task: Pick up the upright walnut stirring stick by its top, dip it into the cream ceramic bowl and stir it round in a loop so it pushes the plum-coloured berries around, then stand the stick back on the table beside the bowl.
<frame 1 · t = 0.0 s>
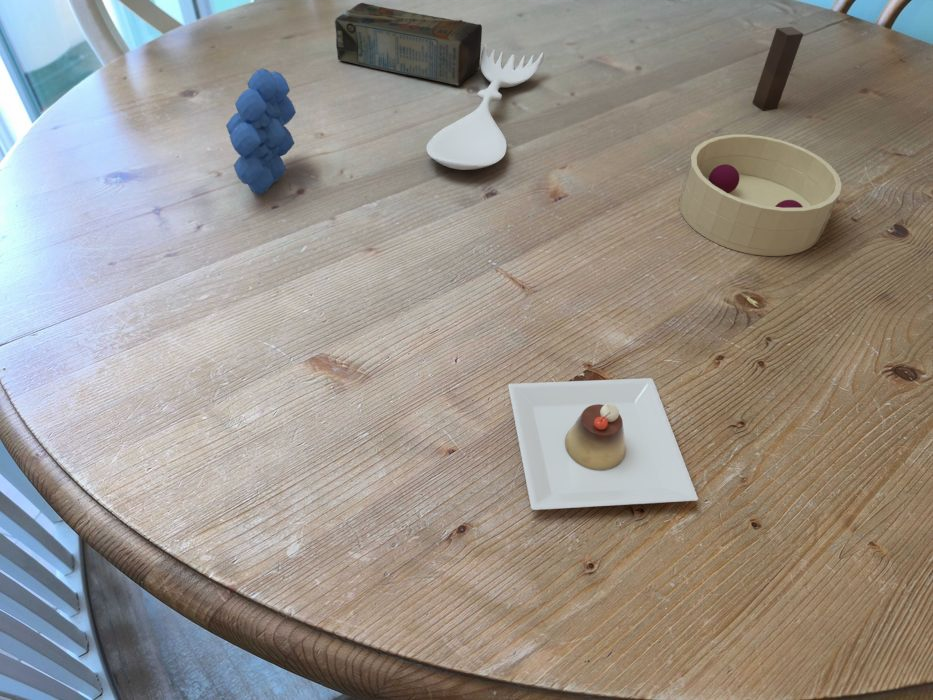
berry a: (723, 179, 82), point 2 cm above the table, touching bowl
bowl: (749, 214, 82), on the table
stick: (764, 105, 101), on the table
grapes: (264, 181, 83), on the table
dessert: (594, 449, 57), on the table
spoon: (487, 120, 95), on the table
berry b: (788, 215, 78), point 2 cm above the table, touching bowl
beverage carton: (408, 66, 106), on the table
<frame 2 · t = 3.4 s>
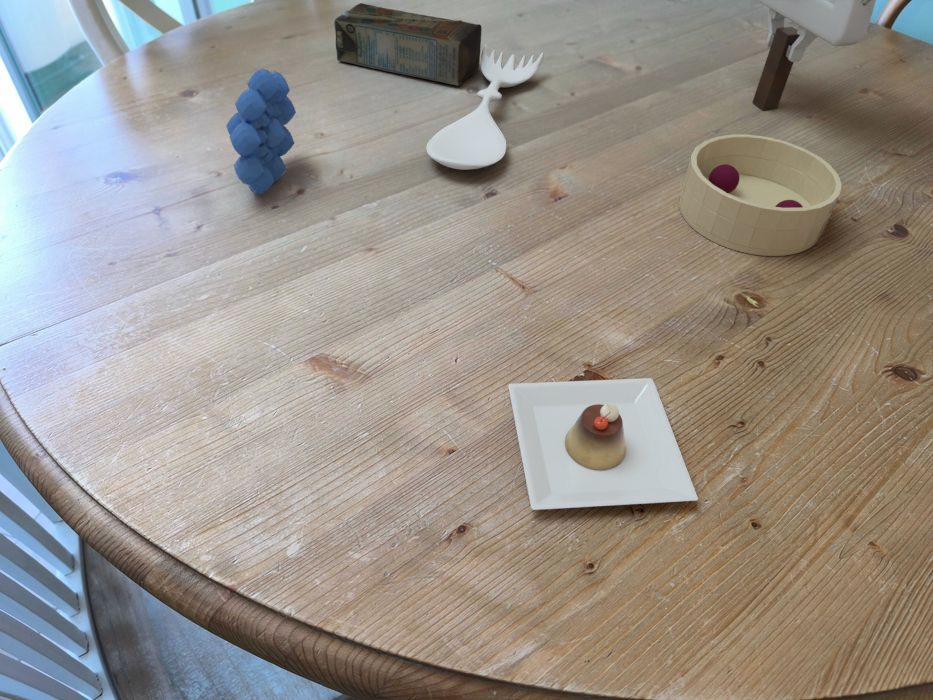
hand: (782, 53, 96), 7 cm above the table, tool pointing down, fingers closed on stick, 2 cm apart
stick: (764, 105, 101), on the table, touching gripper
everything else where it was.
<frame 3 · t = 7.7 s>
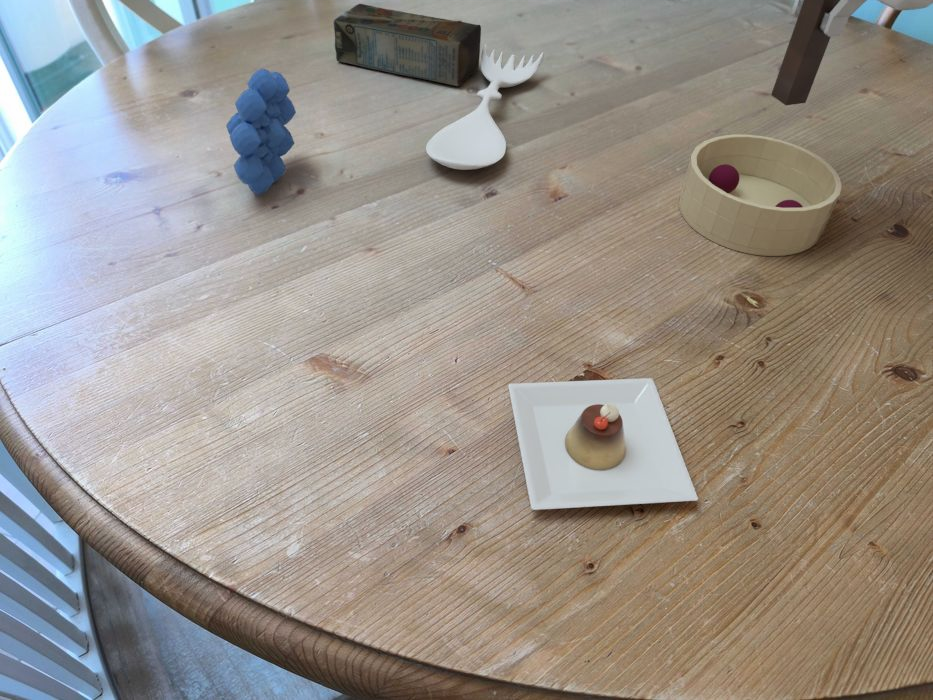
hand: (815, 25, 69), 20 cm above the table, tool pointing down, fingers closed on stick, 2 cm apart
stick: (788, 99, 74), point 13 cm above the table, touching gripper
everything else where it was.
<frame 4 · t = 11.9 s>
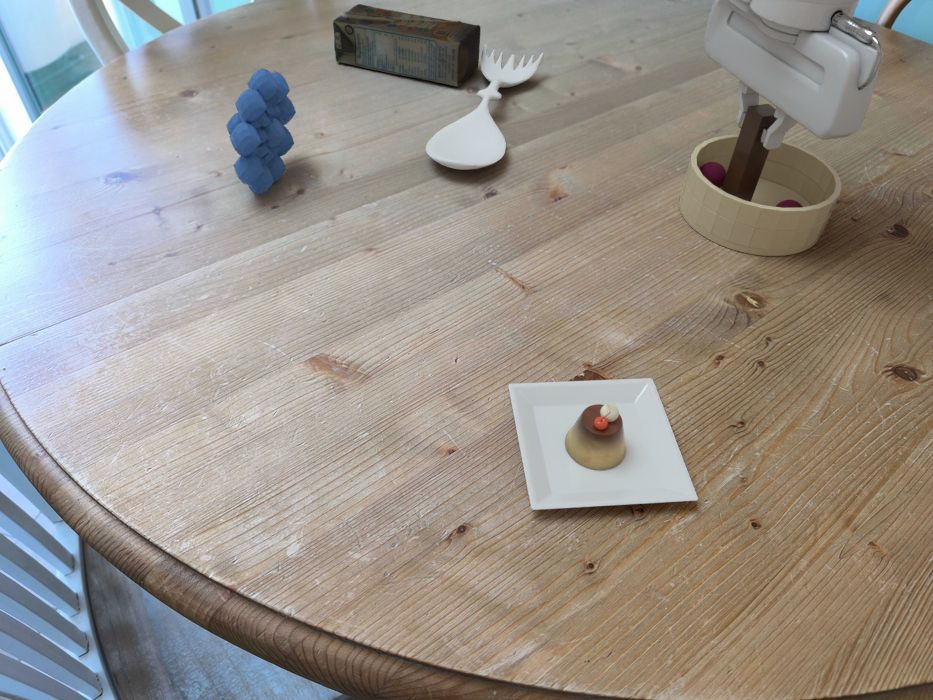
hand: (756, 136, 76), 9 cm above the table, tool pointing down, fingers closed on stick, 2 cm apart
berry a: (711, 176, 82), point 2 cm above the table, tilted 48°, touching bowl
stick: (735, 197, 81), point 2 cm above the table, touching gripper
everything else where it was.
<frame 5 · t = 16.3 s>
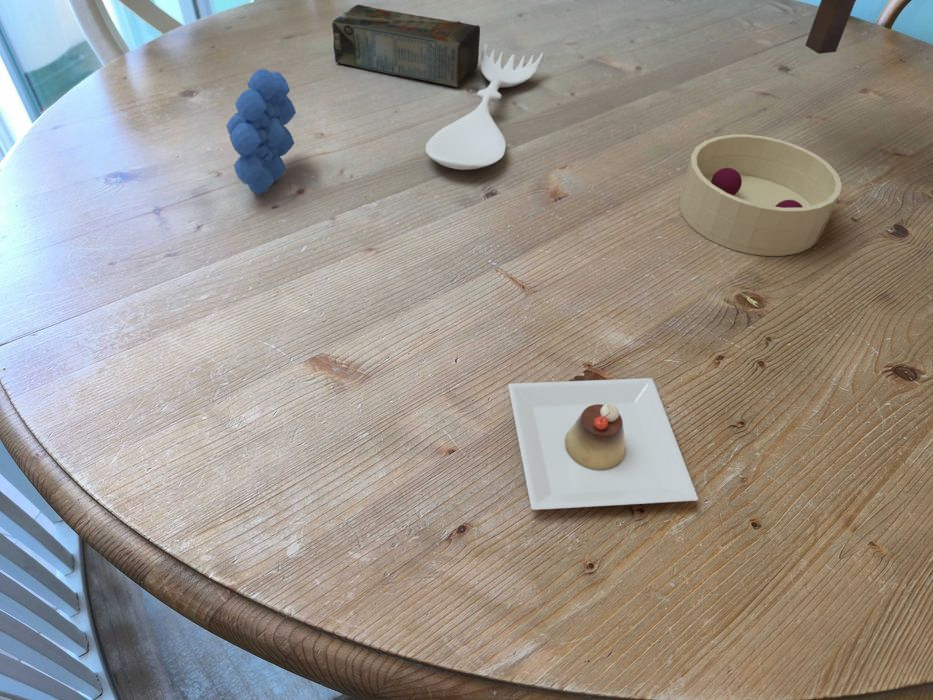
berry a: (726, 182, 82), point 2 cm above the table, tilted 23°, touching bowl
stick: (820, 48, 84), point 13 cm above the table, touching gripper
everything else where it was.
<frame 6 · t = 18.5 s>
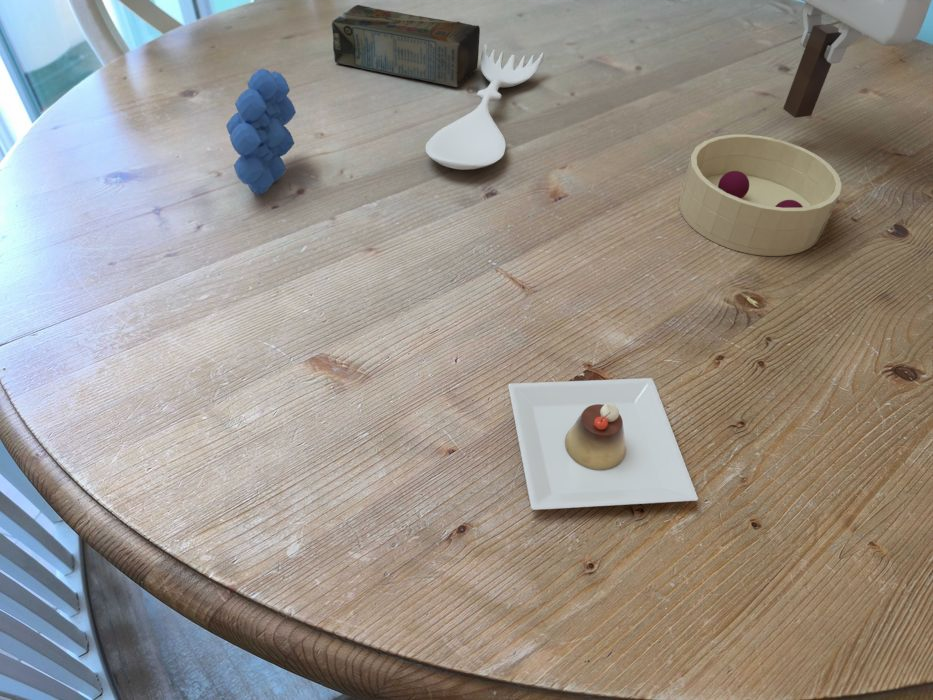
hand: (819, 54, 86), 11 cm above the table, tool pointing down, fingers closed on stick, 2 cm apart
berry a: (733, 186, 81), point 2 cm above the table, tilted 52°, touching bowl
stick: (796, 112, 91), point 4 cm above the table, touching gripper
everything else where it was.
when the fingers open (7 cm above the table, at t = 19.9 s): stick stays where it is, on the table.
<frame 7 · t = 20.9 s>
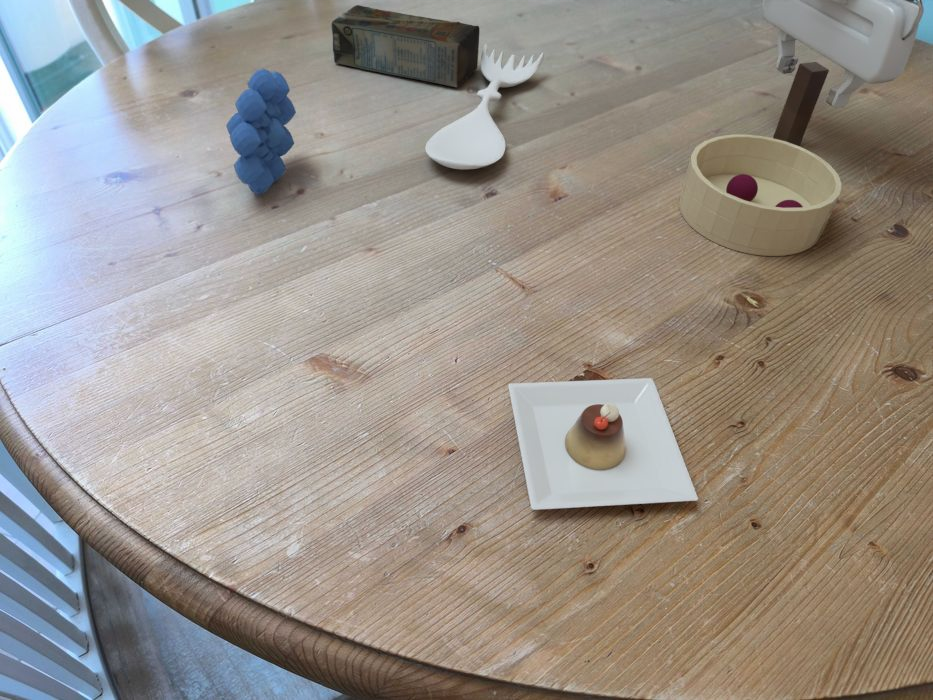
hand: (808, 87, 88), 7 cm above the table, tool pointing down, fingers open, 8 cm apart
berry a: (741, 189, 81), point 2 cm above the table, tilted 85°, touching bowl
stick: (784, 145, 94), on the table
everything else where it was.
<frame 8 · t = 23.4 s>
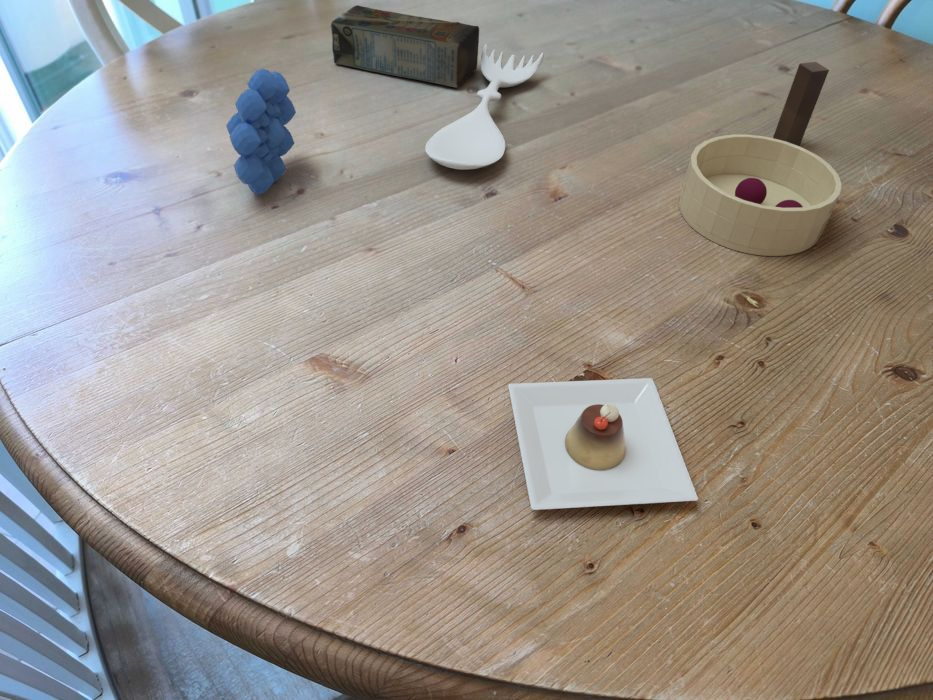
berry a: (750, 192, 80), point 2 cm above the table, tilted 120°, touching bowl
everything else where it was.
at the end: berry a moved 3.5 cm from its start; berry a inside the target area in the bowl (0.5 cm from its centre), point 2.4 cm above the bowl's base; stick inside the target area (0.2 cm from its centre), on the table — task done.
